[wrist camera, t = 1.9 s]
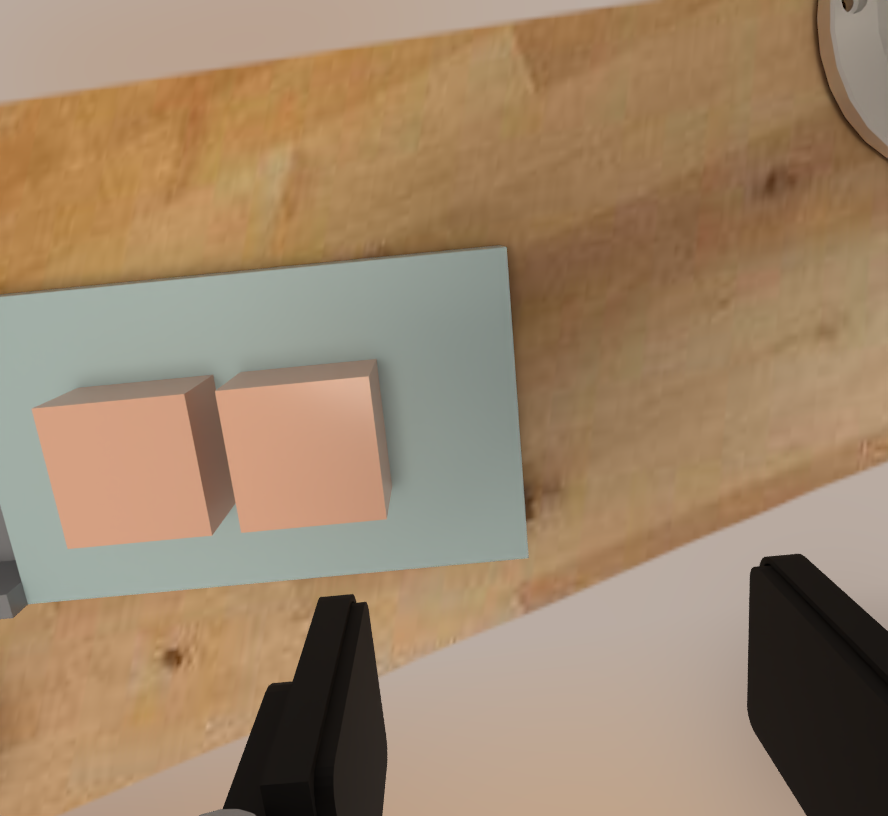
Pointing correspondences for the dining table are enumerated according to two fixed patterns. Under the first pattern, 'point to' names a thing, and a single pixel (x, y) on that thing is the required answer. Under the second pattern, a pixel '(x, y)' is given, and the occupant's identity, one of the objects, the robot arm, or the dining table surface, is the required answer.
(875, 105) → the robot arm
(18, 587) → the tray
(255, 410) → the tile
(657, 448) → the dining table surface
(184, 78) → the dining table surface
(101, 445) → the tile
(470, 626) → the dining table surface
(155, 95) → the dining table surface
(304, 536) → the pale green lid panel
